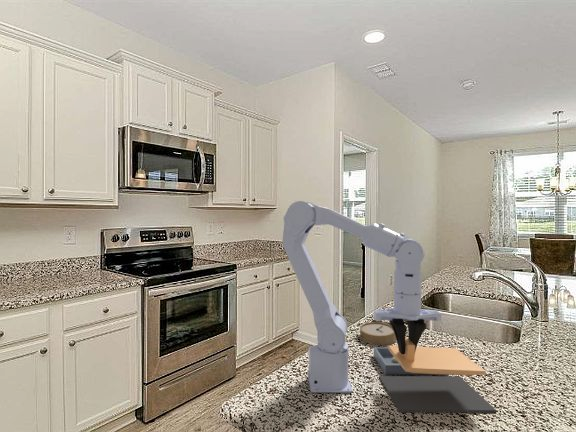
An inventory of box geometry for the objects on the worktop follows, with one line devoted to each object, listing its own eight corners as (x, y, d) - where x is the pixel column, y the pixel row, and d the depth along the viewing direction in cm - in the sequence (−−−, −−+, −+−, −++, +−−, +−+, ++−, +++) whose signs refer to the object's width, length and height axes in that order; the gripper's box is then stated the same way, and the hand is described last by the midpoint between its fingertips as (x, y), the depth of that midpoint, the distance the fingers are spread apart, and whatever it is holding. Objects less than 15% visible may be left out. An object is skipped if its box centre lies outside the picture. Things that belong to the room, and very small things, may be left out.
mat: (399, 412, 68) (399, 409, 68) (379, 378, 82) (379, 376, 82) (496, 412, 68) (496, 410, 68) (459, 378, 82) (460, 376, 82)
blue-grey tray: (385, 375, 83) (385, 365, 83) (373, 356, 94) (373, 347, 94) (448, 375, 84) (449, 365, 84) (429, 356, 95) (429, 347, 95)
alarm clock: (352, 330, 107) (375, 312, 118) (354, 344, 108) (376, 325, 119) (385, 339, 100) (405, 319, 110) (386, 355, 100) (406, 333, 111)
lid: (405, 375, 69) (406, 350, 69) (387, 352, 81) (388, 331, 81) (484, 378, 69) (485, 354, 69) (455, 355, 81) (456, 334, 81)
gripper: (380, 296, 71) (379, 360, 71) (448, 296, 71) (447, 360, 71) (371, 288, 78) (370, 346, 78) (433, 289, 78) (432, 346, 78)
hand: (406, 352), depth 75 cm, fingers closed on lid
